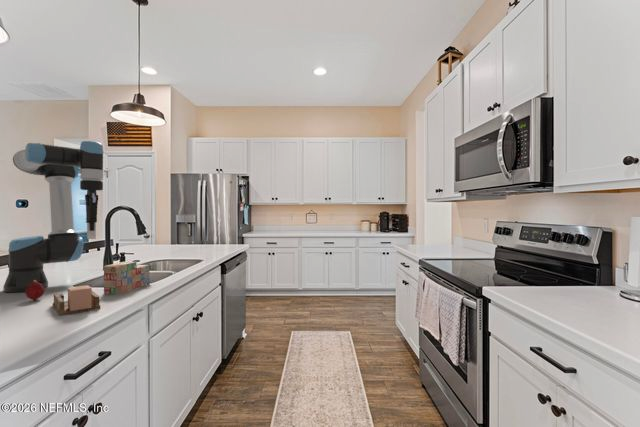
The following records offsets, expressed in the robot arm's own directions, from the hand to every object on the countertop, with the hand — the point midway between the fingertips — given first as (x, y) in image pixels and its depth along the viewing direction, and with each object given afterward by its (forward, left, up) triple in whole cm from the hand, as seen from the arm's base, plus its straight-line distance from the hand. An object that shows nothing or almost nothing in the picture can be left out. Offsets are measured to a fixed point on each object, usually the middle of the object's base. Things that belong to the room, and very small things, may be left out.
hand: (91, 238), depth 134 cm
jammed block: (+17, -6, -23) cm, 29 cm away
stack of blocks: (-9, +16, -25) cm, 31 cm away
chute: (+10, -6, -24) cm, 27 cm away
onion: (-12, -16, -25) cm, 32 cm away
